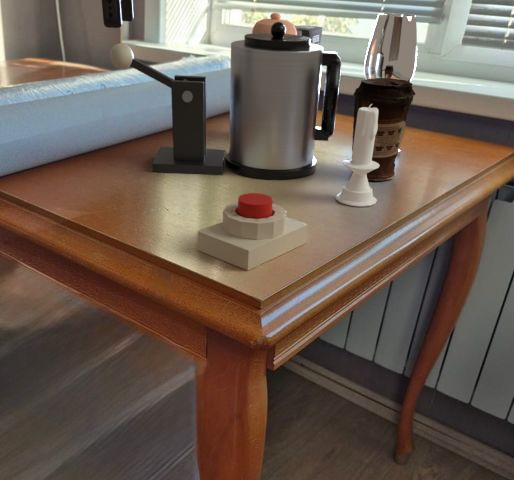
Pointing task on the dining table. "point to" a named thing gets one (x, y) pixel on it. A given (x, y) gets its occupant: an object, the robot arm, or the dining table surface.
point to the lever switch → (135, 63)
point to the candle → (361, 160)
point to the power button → (255, 206)
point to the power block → (251, 237)
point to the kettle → (279, 104)
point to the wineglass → (392, 48)
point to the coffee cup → (385, 119)
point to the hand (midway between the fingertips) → (119, 24)
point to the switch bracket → (189, 132)
